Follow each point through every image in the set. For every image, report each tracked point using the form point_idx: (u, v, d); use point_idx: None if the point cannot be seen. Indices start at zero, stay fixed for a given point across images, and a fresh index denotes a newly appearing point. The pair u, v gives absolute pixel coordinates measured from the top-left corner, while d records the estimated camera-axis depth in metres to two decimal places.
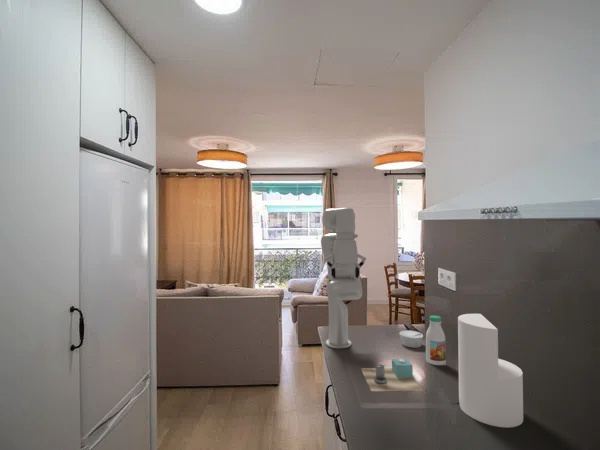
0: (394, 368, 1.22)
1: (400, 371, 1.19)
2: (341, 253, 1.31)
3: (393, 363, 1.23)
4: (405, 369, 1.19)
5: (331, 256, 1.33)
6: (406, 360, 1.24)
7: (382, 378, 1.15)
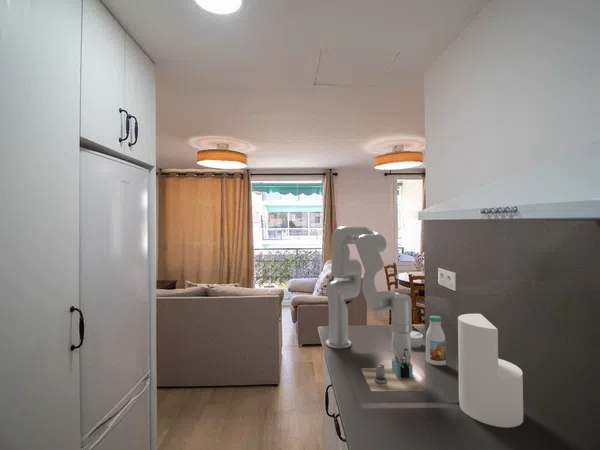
0: (394, 368, 1.22)
1: (400, 371, 1.19)
2: None
3: (393, 363, 1.23)
4: None
5: None
6: None
7: (382, 378, 1.15)
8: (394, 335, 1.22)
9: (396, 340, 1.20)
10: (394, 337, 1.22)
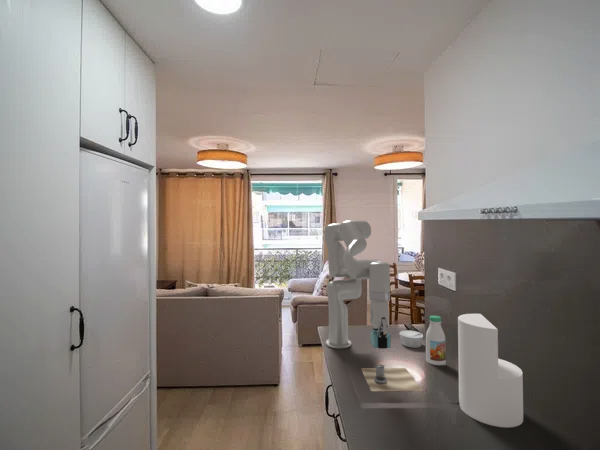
0: (372, 339, 1.16)
1: (377, 341, 1.13)
2: None
3: (371, 334, 1.17)
4: None
5: None
6: None
7: (382, 378, 1.15)
8: (372, 304, 1.16)
9: (373, 309, 1.14)
10: (372, 306, 1.16)
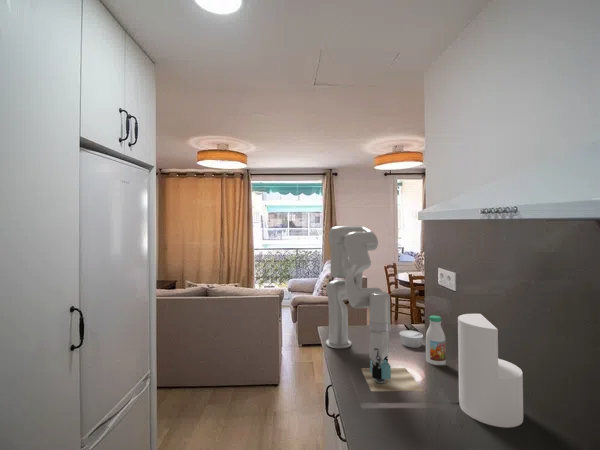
0: None
1: None
2: (385, 347, 1.13)
3: (371, 364, 1.17)
4: (383, 370, 1.13)
5: (377, 354, 1.11)
6: (385, 361, 1.17)
7: None
8: None
9: None
10: None
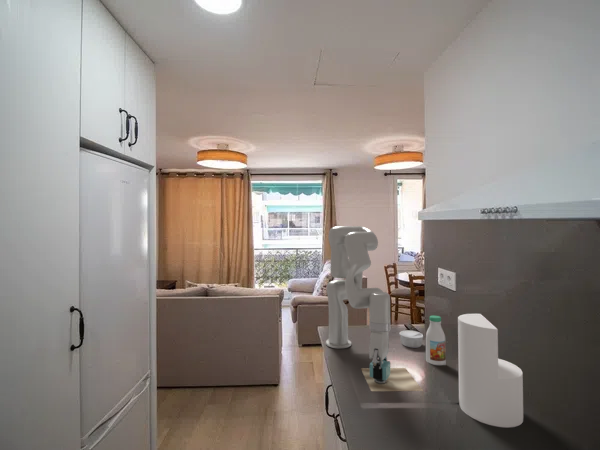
0: None
1: (387, 372, 1.13)
2: (385, 347, 1.13)
3: None
4: (388, 368, 1.15)
5: (377, 355, 1.11)
6: None
7: None
8: None
9: None
10: None
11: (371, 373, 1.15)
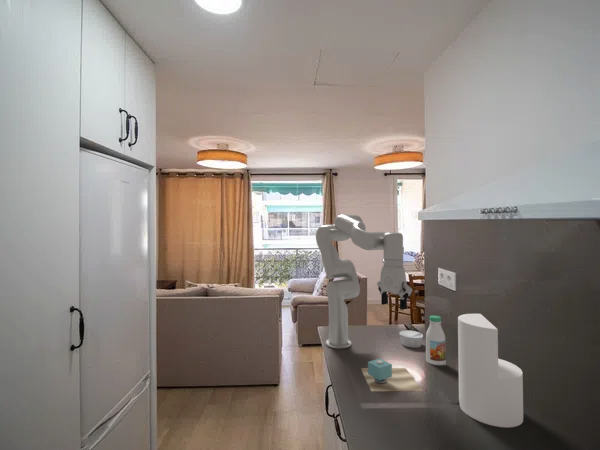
0: (386, 372, 1.14)
1: None
2: None
3: (384, 369, 1.13)
4: None
5: None
6: (372, 361, 1.17)
7: None
8: (388, 272, 1.24)
9: (393, 276, 1.22)
10: (388, 274, 1.24)
11: (381, 376, 1.12)
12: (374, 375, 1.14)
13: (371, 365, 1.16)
